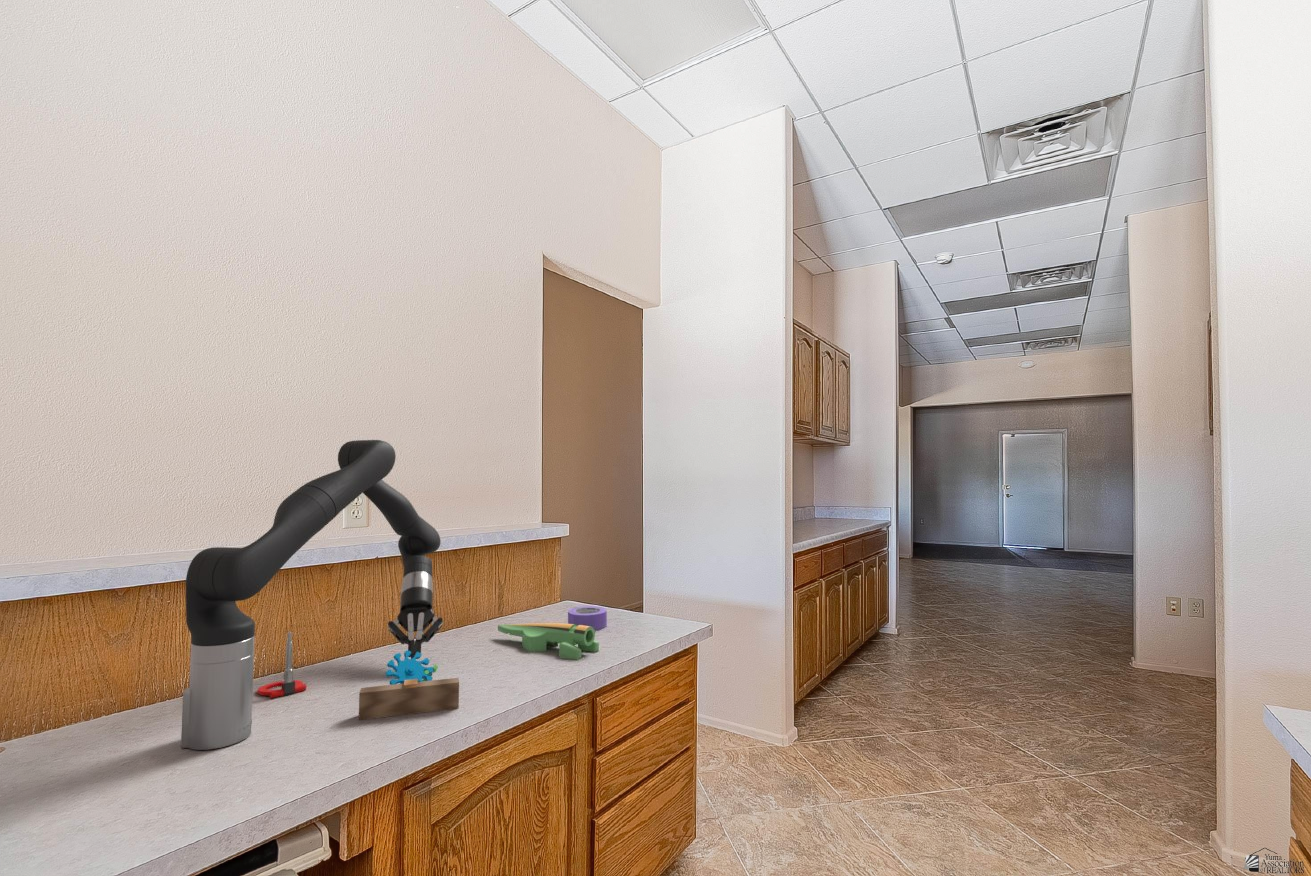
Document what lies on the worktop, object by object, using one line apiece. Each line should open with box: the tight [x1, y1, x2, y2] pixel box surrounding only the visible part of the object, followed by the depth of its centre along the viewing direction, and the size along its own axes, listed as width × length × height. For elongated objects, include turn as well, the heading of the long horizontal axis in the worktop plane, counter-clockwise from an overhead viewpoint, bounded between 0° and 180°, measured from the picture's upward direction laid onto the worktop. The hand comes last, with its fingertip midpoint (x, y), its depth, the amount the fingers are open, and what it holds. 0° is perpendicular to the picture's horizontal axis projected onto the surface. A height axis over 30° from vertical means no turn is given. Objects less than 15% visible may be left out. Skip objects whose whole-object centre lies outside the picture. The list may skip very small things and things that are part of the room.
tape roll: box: [567, 605, 608, 632], centre depth 188 cm, size 12×12×5 cm
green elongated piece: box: [497, 622, 600, 660], centre depth 167 cm, size 32×10×7 cm, turn 60°
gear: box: [385, 649, 439, 685], centre depth 135 cm, size 11×6×10 cm
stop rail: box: [358, 677, 460, 721], centre depth 121 cm, size 18×3×6 cm, turn 109°
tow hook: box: [256, 631, 307, 699], centre depth 133 cm, size 8×13×9 cm
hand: (414, 657), depth 143 cm, fingers closed
